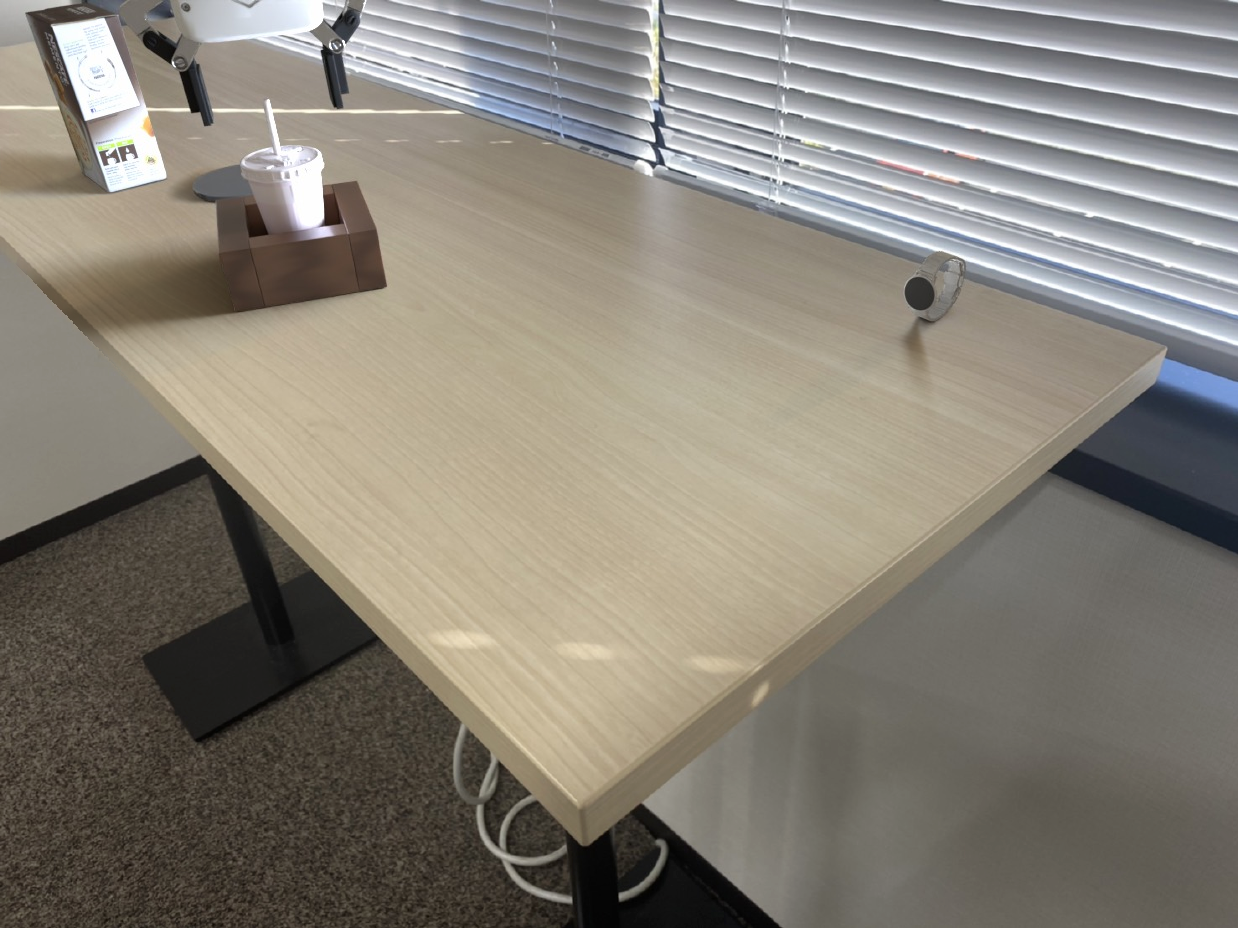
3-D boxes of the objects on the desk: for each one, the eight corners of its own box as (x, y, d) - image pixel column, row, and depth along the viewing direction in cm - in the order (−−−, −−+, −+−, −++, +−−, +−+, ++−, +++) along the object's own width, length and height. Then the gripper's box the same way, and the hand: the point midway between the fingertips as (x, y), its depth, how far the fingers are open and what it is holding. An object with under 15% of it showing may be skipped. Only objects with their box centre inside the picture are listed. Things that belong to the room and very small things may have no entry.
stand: (235, 312, 76) (218, 253, 74) (230, 254, 86) (215, 199, 83) (387, 287, 80) (377, 229, 77) (367, 233, 89) (357, 180, 86)
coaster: (194, 208, 95) (192, 202, 94) (193, 175, 102) (192, 170, 102) (299, 194, 97) (297, 188, 97) (291, 163, 105) (289, 157, 105)
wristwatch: (897, 320, 73) (907, 258, 70) (935, 299, 76) (946, 239, 73) (930, 333, 71) (942, 271, 68) (967, 312, 74) (981, 250, 71)
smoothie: (328, 248, 86) (294, 85, 78) (355, 273, 82) (322, 103, 74) (257, 267, 83) (213, 99, 75) (281, 293, 79) (238, 118, 71)
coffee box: (170, 178, 102) (121, 13, 92) (108, 194, 98) (50, 24, 89) (138, 158, 107) (88, 0, 98) (78, 172, 104) (20, 10, 95)
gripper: (66, -136, 60) (153, 142, 70) (349, -154, 64) (393, 111, 74) (77, -144, 65) (156, 115, 76) (336, -159, 70) (379, 87, 80)
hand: (274, 112), depth 75 cm, fingers open, 9 cm apart
